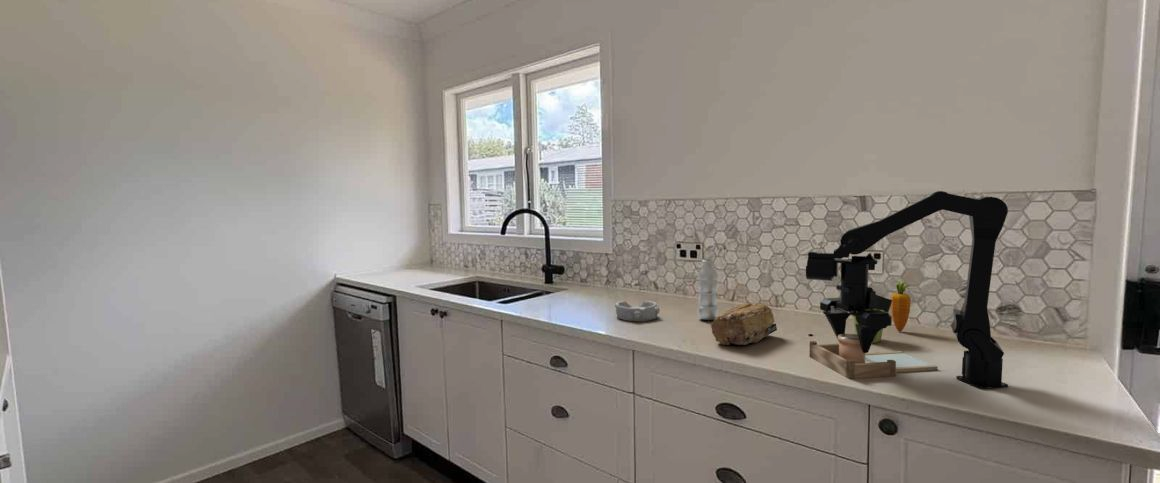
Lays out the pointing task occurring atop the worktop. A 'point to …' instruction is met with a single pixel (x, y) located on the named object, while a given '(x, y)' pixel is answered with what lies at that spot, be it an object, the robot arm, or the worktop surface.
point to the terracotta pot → (851, 348)
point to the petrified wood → (744, 324)
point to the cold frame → (849, 363)
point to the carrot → (900, 306)
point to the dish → (637, 311)
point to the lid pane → (900, 361)
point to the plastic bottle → (707, 291)
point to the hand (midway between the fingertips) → (852, 346)
